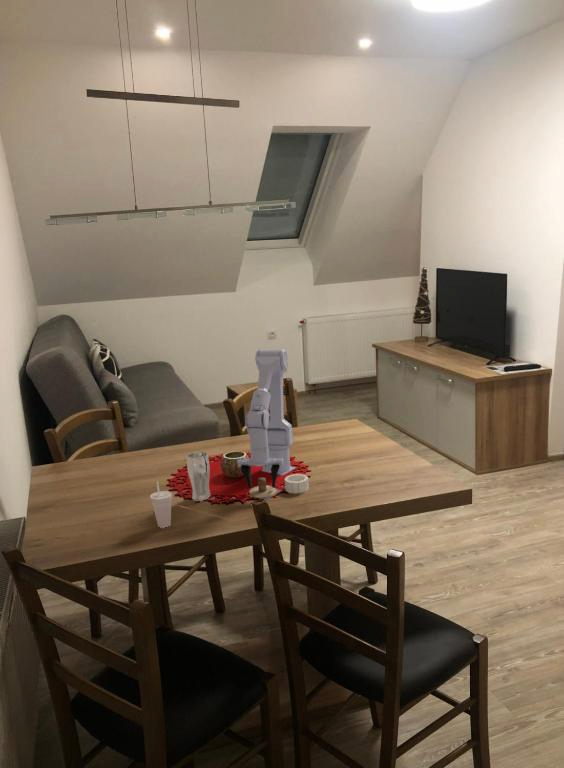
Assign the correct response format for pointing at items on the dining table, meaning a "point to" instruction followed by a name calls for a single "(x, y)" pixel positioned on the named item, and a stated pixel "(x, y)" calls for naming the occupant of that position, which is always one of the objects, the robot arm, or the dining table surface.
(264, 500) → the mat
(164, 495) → the smoothie
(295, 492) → the bowl
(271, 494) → the lid
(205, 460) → the beer glass
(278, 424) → the robot arm
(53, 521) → the dining table surface
